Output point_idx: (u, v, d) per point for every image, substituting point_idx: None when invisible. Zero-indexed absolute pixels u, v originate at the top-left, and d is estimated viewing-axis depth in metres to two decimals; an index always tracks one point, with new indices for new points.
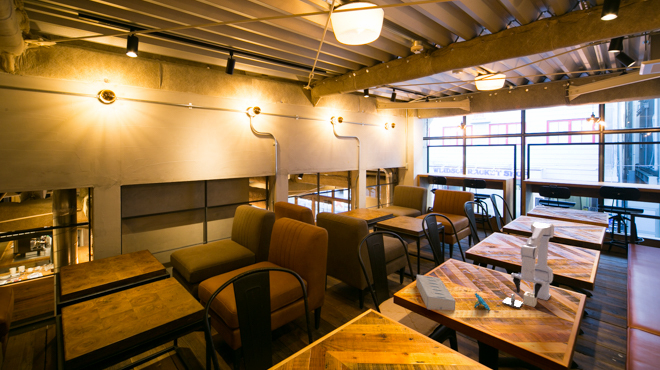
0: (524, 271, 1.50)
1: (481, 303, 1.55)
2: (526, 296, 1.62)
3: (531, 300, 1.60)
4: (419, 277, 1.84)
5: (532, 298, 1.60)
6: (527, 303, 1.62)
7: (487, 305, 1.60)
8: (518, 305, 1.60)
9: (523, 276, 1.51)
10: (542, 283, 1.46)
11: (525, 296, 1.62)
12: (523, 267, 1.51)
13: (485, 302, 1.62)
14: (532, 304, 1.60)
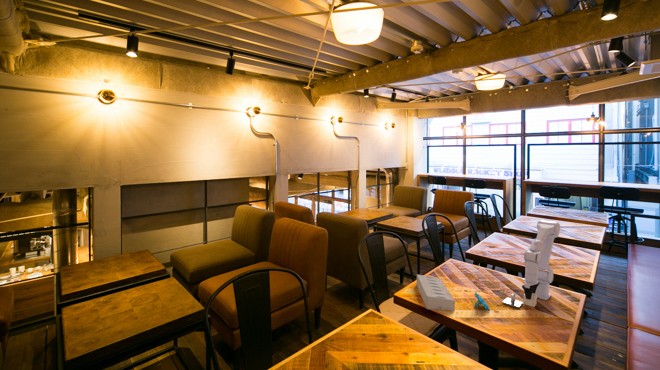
0: None
1: (481, 303, 1.55)
2: None
3: (531, 300, 1.60)
4: (419, 277, 1.84)
5: (532, 298, 1.60)
6: (527, 303, 1.62)
7: (487, 305, 1.60)
8: (518, 305, 1.60)
9: None
10: None
11: None
12: (526, 271, 1.61)
13: (485, 302, 1.62)
14: (532, 304, 1.60)
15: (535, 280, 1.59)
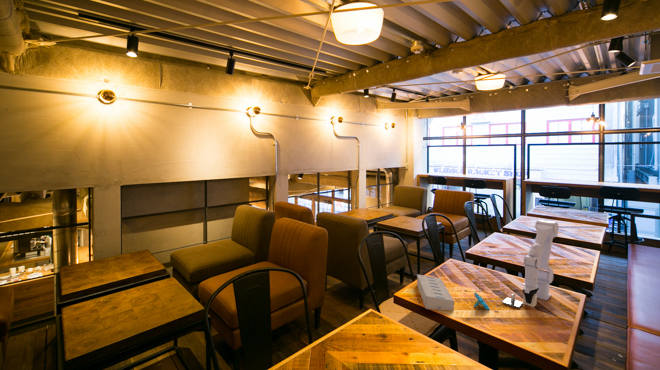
0: None
1: (480, 303, 1.56)
2: None
3: None
4: (419, 277, 1.84)
5: (532, 298, 1.60)
6: (527, 303, 1.62)
7: (487, 305, 1.60)
8: (518, 305, 1.60)
9: None
10: None
11: None
12: (526, 275, 1.62)
13: (485, 302, 1.62)
14: (532, 304, 1.60)
15: (535, 285, 1.60)
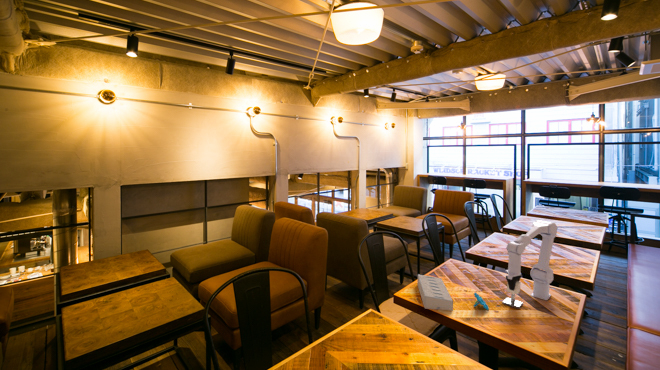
0: None
1: (480, 303, 1.56)
2: None
3: None
4: (420, 277, 1.84)
5: (515, 285, 1.60)
6: (510, 291, 1.62)
7: (486, 305, 1.60)
8: (518, 305, 1.60)
9: None
10: None
11: None
12: (509, 262, 1.62)
13: (484, 302, 1.62)
14: (515, 291, 1.60)
15: (518, 271, 1.59)
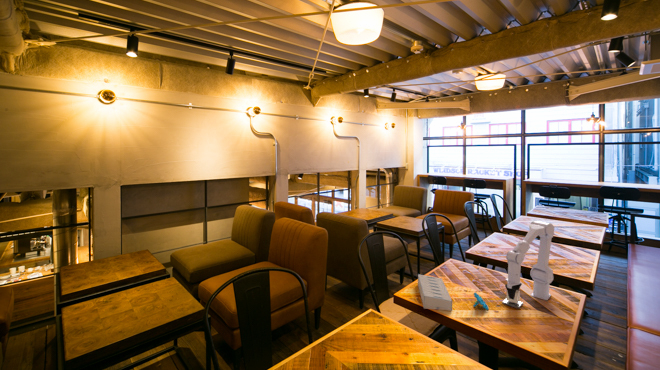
0: None
1: (479, 303, 1.56)
2: None
3: (514, 296, 1.61)
4: (420, 277, 1.84)
5: (515, 294, 1.60)
6: (510, 299, 1.62)
7: (486, 305, 1.60)
8: (518, 305, 1.60)
9: None
10: None
11: None
12: (508, 270, 1.63)
13: (484, 302, 1.62)
14: (515, 300, 1.61)
15: (517, 280, 1.60)
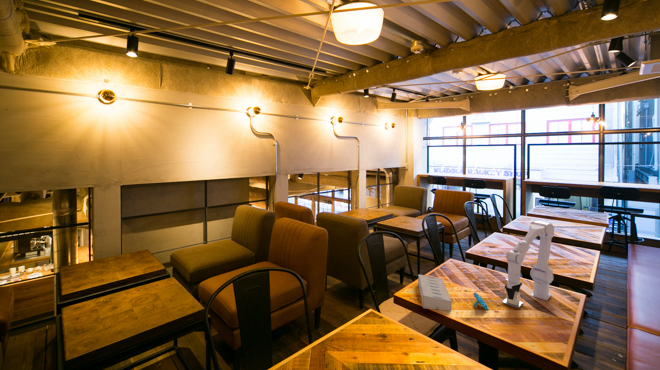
0: None
1: (479, 302, 1.56)
2: None
3: (514, 298, 1.61)
4: (420, 277, 1.84)
5: (515, 296, 1.60)
6: (510, 301, 1.62)
7: (486, 305, 1.60)
8: (518, 305, 1.60)
9: None
10: None
11: None
12: (508, 270, 1.63)
13: (484, 302, 1.62)
14: (515, 302, 1.61)
15: (517, 280, 1.60)
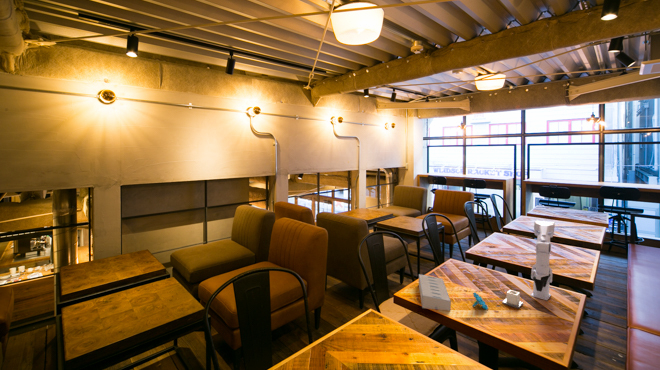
0: None
1: (478, 302, 1.56)
2: (509, 294, 1.62)
3: (514, 298, 1.61)
4: (420, 277, 1.85)
5: (515, 296, 1.60)
6: (510, 301, 1.62)
7: (486, 305, 1.60)
8: (518, 305, 1.60)
9: None
10: None
11: (508, 294, 1.63)
12: (539, 263, 1.57)
13: (484, 302, 1.62)
14: (515, 302, 1.61)
15: (546, 271, 1.56)
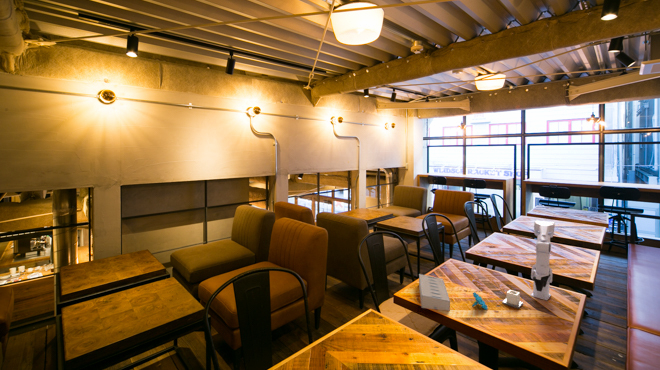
0: None
1: (478, 302, 1.56)
2: (509, 294, 1.62)
3: (514, 298, 1.61)
4: (421, 276, 1.85)
5: (515, 296, 1.60)
6: (510, 301, 1.62)
7: (485, 305, 1.60)
8: (518, 305, 1.60)
9: None
10: None
11: (508, 294, 1.63)
12: (539, 263, 1.57)
13: (484, 302, 1.62)
14: (515, 302, 1.61)
15: (546, 271, 1.56)
